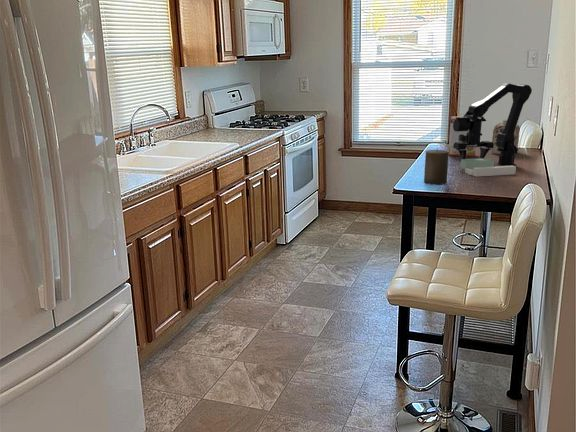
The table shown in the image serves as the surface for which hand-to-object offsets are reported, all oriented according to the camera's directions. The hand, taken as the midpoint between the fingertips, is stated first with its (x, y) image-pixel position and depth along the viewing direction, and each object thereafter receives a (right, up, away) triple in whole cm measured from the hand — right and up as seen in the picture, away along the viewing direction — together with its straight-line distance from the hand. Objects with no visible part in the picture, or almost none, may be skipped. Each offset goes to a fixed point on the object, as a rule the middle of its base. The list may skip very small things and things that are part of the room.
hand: (472, 162), depth 279 cm
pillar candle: (-26, -12, -31) cm, 43 cm away
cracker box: (+4, +7, +31) cm, 32 cm away
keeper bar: (+1, -3, -4) cm, 5 cm away
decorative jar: (+30, +9, +36) cm, 48 cm away
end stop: (+4, -6, -15) cm, 17 cm away
